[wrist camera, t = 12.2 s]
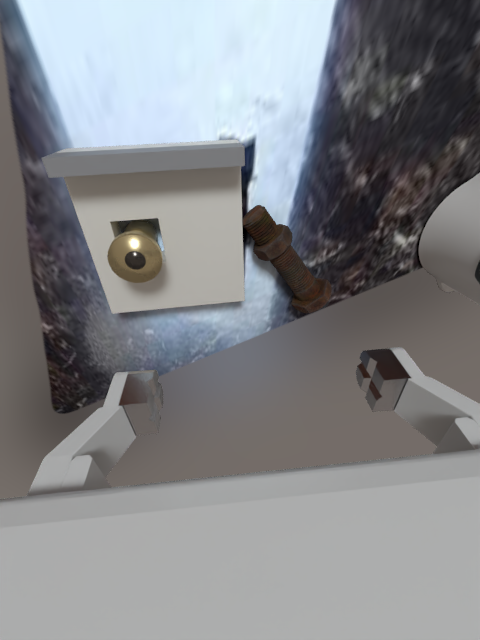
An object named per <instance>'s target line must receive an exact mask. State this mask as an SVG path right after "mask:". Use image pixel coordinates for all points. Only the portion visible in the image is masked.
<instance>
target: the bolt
mask: <svg viewBox="0 0 480 640" xmlns="http://www.w3.org/2000/svg"><path fill="white" fill-rule="evenodd" d="M242 225H243V227H245V229H246V231H247V232H248V233H249V234H250V236H252V238H253V240H255V244H254V253H255V254H256V256H257V257H258V258H259V259H261V260H264V261H270V262H271V263H272V264H273V266H274V267H275V268H276V270H278V272H279V273H280V275H281V276H282V277H283V278H284V280H285V281H286V282H287V284H288V285H289V286H290V288H291V289H292V291H293V293H294V295H293V299H292V302H291V305H292V306H293V307H294V308H295V309H296V310H298V311H300V312H303V313H311V312H314V311H317V310H319V309H320V308H322V307H323V306H324V305H325V304H326V303H327V302H328V300H329V299H330V297H331V284H330V283H329V281H328V280H327V279H320V278H315V277H314V276H313V275H311V273H310V272H309V270H308V269H307V267H306V266H305V264H304V263H303V262H302V260H301V259H300V257H299V256H298V254H297V253H296V251H295V250H294V249H293V247H292V246H291V245H290V244H291V242H292V232H291V231H290V229H289V228H288V226H285V225H281V224H279V225H276V223H275V221H273V219H272V218H271V216H270V214H268V212H267V210H266V209H265V207H262V206H261V205H257V206H255V207H254V208H253V209H252V210H250V211H249V212H248V213H247V214H246V215H245V216H244V217H243V219H242Z"/></svg>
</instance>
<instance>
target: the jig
mask: <svg viewBox="0 0 480 640" xmlns="http://www.w3.org/2000/svg"><path fill="white" fill-rule="evenodd" d="M42 160H43V163H44V166H45V168H46V171H47V173H48V176H49V178H52V177H64V180H65V182H66V185H67V188H68V191H69V194H70V196H71V199H72V202H73V205H74V208H75V210H76V213H77V216H78V219H79V222H80V224H81V227H82V230H83V233H84V236H85V238H86V241H87V244H88V247H89V250H90V252H91V255H92V258H93V261H94V264H95V266H96V269H97V272H98V275H99V278H100V280H101V283H102V286H103V289H104V292H105V294H106V297H107V300H108V303H109V306H110V308H111V311H112V314H113V313H124V312H134V311H144V310H155V309H165V308H175V307H186V306H196V305H206V304H217V303H227V302H237V301H245V296H244V262H243V227H242V193H241V166H245V157H244V146H243V145H242V144H241V143H240V142H239V141H238V140H217V141H198V142H180V143H161V144H142V145H123V146H105V147H86V148H67V149H64V150H61V151H59V152H56V153H53V154H51V155H48V156H46V157H43V158H42ZM153 218H158V220H159V225H160V230H161V235H162V240H163V245H164V250H165V251H162V267H161V270H160V272H159V273H158V275H157V276H156V277H155V278H153V279H152V280H150V281H147V282H143V283H133V282H129V281H126V280H124V279H122V278H120V277H119V276H117V275H116V274H115V273H114V272H113V271H112V269H111V267H110V265H109V263H108V257H107V255H108V250H109V247H110V245H111V243H112V241H113V240H114V239H115V238H116V237H117V236H118V235H120V234H122V233H121V230H120V226H119V223H118V221H125V220H139V219H153Z"/></svg>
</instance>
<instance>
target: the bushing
mask: <svg viewBox="0 0 480 640" xmlns="http://www.w3.org/2000/svg"><path fill="white" fill-rule="evenodd" d="M107 257H108V263H109V265H110V267H111V269H112V271H113V272H114V273H115V274H116V275H117V276H119V277H120V278H122V279H124V280H126V281H129V282H133V283H143V282H147V281H150V280H152V279H153V278H155V277H156V276H157V275H158V273H159V272H160V270H161V267H162V251H161V249H160V247H159V245H158V244H157V232H156V229H155V227H154V226H153V225H152V224H151V223H150V222H148V221H146V220H143V219H139V220H132V221H131V222H129V223H128V225H127V226H126V229H125V232H124V233H122V234H120V235H118V236H117V237H116V238H115V239H114V240H113V241H112V243H111V245H110V247H109V250H108V255H107Z"/></svg>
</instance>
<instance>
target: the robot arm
mask: <svg viewBox="0 0 480 640" xmlns="http://www.w3.org/2000/svg"><path fill="white" fill-rule="evenodd" d="M419 259H420V262H421V264H422V266H423V268H424V269H425V270H426V271H427V272H428V273H430V274H431V275H433V276H434V277H435V278H436V281H437V284H438V287H439V288H440V289H441V290H442V291H444V292H446V293H450V292H454V291H456V292H458V293H459V294H461V295H463V296H465V297H466V298H468V299H470V300H471V301H473V302H475V303H476V304H478V305H480V173H479V174H477V175H476V176H475V177H473V178H472V179H471V180H469V181H467V182H466V183H464V184H463V185H461V186H460V187H458V188H457V189H456V190H455V191H453V192H452V193H451V194H450V195H449V196H448V197H447V198H445V199H444V200H443V202H442V203H441V204H440V205H439V206H438V207H437V208H436V210H435V211H434V212H433V214H432V215H431V217H430V218H429V220H428V222H427V224H426V226H425V228H424V230H423V232H422V235H421V238H420V243H419ZM360 359H361V361H362V362H361V363H360V364H359V365H358V366H357V370H356V375H357V376H356V377H357V381H358V384H359V386H360V388H361V389H362V390H363V391H365V392H366V393H367V394H366V397H365V398H366V400H367V402H368V404H369V406H370V408H371V410H372V412H376V411H391V410H394V412H395V413H397V414H398V415H399V416H400V417H402V418H403V419H404V420H405V421H407V422H408V423H409V424H410V425H412V426H413V427H414V428H415V429H416V430H418V431H419V432H420V433H421V434H423V435H424V436H425V437H426V438H427V439H429V440H430V441H431V442H432V443H434V444H435V445H436V446H437V448H436V450H435V451H434V452H433V454H428V455H420V456H410V457H400V458H390V459H380V460H371V461H362V462H352V463H343V464H333V465H323V466H314V467H304V468H294V469H285V470H275V471H266V472H256V473H247V474H237V475H228V476H218V477H208V478H200V479H189V480H179V481H170V482H161V483H150V484H141V485H131V486H123V487H113V488H112V487H111V486H110V484H109V483H108V481H107V480H106V476H107V475H108V474H109V472H110V471H111V470H112V468H113V467H114V466H115V464H116V463H117V462H118V460H119V459H120V458H121V456H122V455H123V454H124V452H125V451H126V450H127V448H128V447H129V446H130V444H131V443H132V442H133V440H134V439H135V438H136V436H137V435H144V434H152V433H158V432H159V426H160V419H161V417H160V414H159V411H160V410H161V408H162V406H163V390H162V386H161V384H160V383H159V382H158V377H159V376H158V373H157V371H156V370H146V371H131V372H119V373H116V374H115V375H114V377H113V380H112V382H111V385H110V388H109V391H108V394H107V397H106V400H105V403H104V406H103V408H98V409H97V410H96V411H95V412H94V413H93V414H92V415H91V416H90V417H88V418H87V419H86V420H85V421H84V422H83V423H82V424H81V425H80V426H79V427H78V428H76V430H74V431H73V432H72V433H71V434H70V435H69V436H68V437H67V438H66V439H65V440H63V441H62V442H61V443H60V444H59V445H58V446H57V447H56V448H55V449H54V450H52V451H51V452H50V453H49V454H48V455H47V456H46V457H45V458H44V460H43V462H42V464H41V466H40V468H39V470H38V473H37V475H36V477H35V479H34V481H33V483H32V486H31V488H30V490H29V492H28V494H27V496H26V497H15V498H6V499H0V640H480V404H479V403H476V402H475V401H473V400H471V399H469V398H468V397H466V396H464V395H462V394H460V393H458V392H456V391H455V390H453V389H451V388H449V387H447V386H445V385H443V384H442V383H440V382H438V381H436V380H434V379H432V378H431V377H425V376H424V374H423V373H422V372H421V370H420V369H419V368H418V367H417V365H416V364H415V363H414V362H413V360H412V359H411V357H410V356H409V355H408V354H407V352H406V351H405V350H404V349H403V348H401V347H398V348H389V349H378V350H367V351H363V352H362V353H361V355H360Z"/></svg>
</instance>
